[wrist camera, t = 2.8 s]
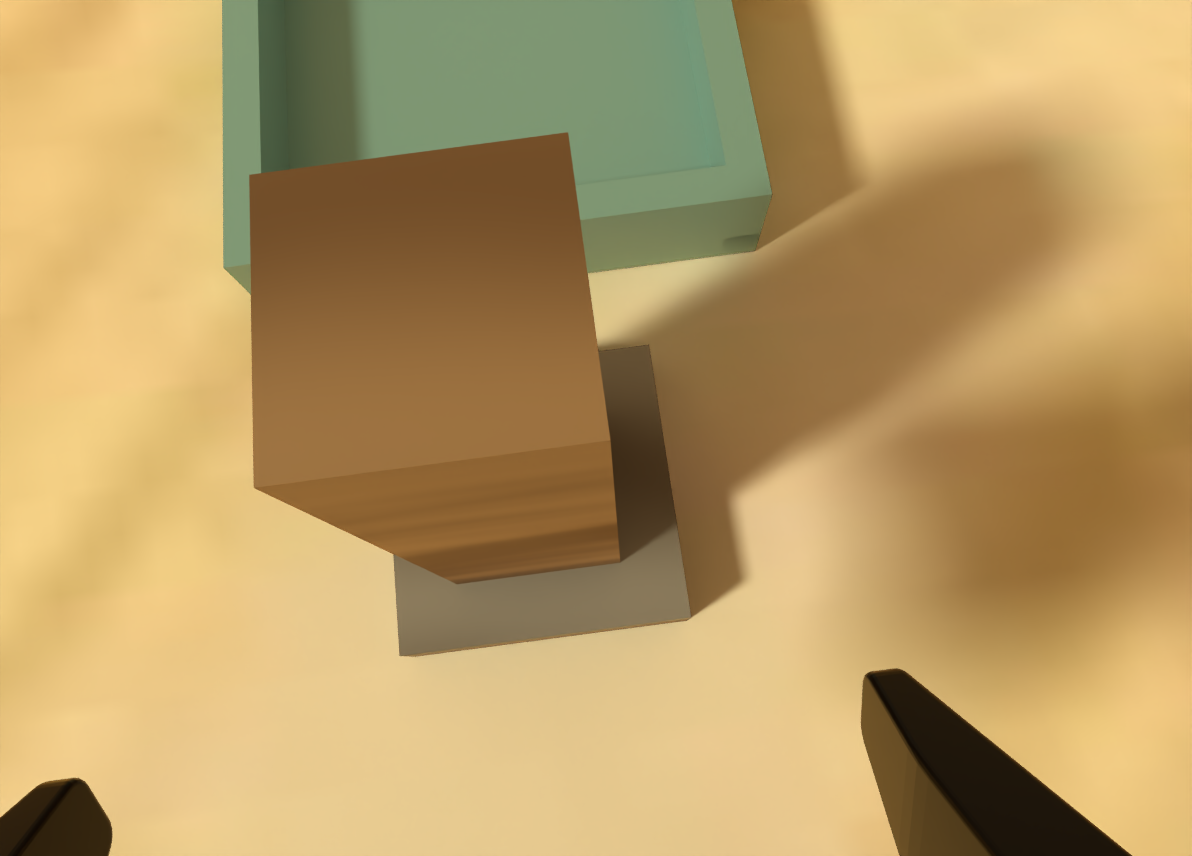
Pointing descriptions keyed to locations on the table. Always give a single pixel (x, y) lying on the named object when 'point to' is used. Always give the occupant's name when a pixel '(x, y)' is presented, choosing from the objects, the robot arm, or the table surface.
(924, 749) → the robot arm
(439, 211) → the handle post
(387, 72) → the tray
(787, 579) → the table surface
